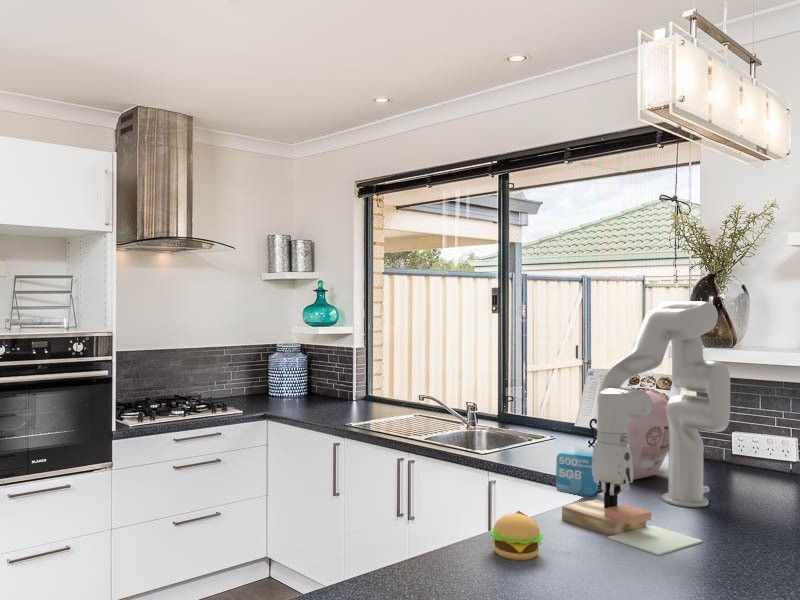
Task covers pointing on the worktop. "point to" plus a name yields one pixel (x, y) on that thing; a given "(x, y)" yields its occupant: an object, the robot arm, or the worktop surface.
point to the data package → (575, 473)
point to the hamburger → (516, 537)
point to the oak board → (596, 518)
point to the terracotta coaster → (628, 514)
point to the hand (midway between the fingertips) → (610, 508)
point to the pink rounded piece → (649, 438)
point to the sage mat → (655, 540)
